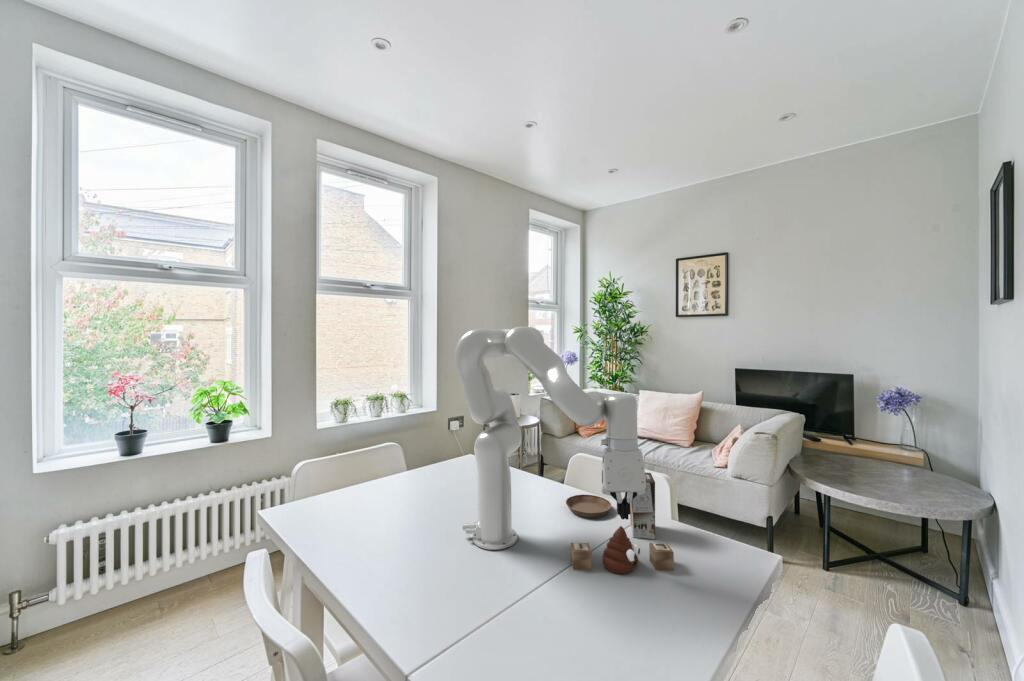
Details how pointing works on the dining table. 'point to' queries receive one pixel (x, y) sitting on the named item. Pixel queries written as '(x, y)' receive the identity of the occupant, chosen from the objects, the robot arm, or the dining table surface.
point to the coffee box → (644, 511)
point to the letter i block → (581, 556)
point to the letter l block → (661, 556)
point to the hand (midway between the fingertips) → (623, 517)
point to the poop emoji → (620, 553)
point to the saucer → (588, 505)
